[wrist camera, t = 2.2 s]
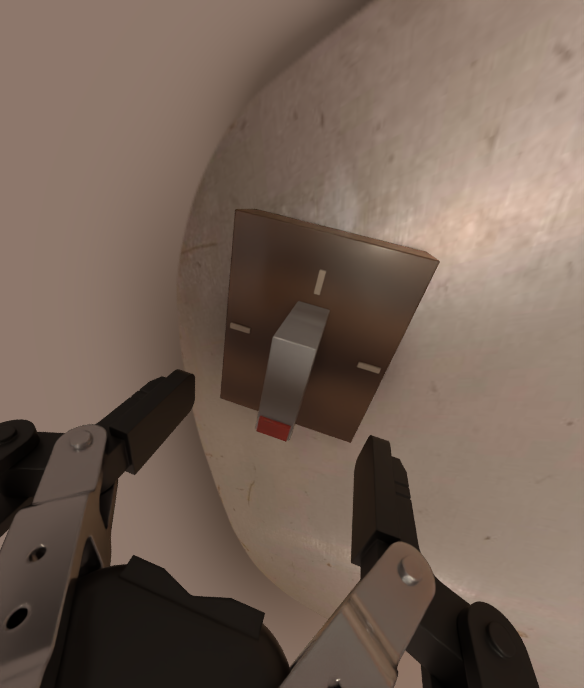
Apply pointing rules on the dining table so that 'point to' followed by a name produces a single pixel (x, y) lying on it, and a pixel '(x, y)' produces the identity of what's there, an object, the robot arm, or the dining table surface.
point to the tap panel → (326, 292)
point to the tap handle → (290, 369)
